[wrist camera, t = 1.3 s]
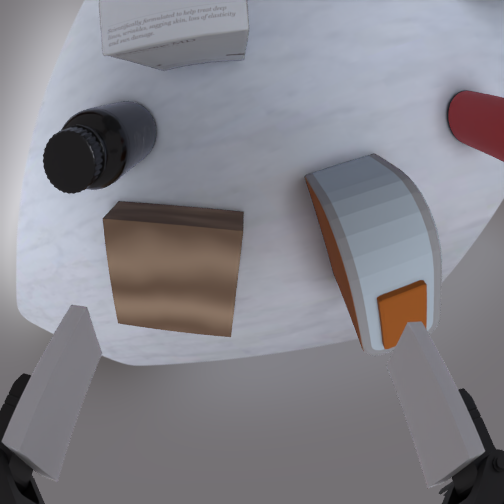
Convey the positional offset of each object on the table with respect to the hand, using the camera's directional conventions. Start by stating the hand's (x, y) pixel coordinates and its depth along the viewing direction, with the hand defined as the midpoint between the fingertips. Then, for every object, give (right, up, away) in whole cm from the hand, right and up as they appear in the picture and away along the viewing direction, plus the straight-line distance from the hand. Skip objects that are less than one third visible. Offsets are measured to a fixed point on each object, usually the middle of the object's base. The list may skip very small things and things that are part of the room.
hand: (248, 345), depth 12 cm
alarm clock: (+12, +7, +23) cm, 27 cm away
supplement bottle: (-13, +16, +17) cm, 26 cm away
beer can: (+25, +19, +16) cm, 35 cm away
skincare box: (-5, +24, +12) cm, 27 cm away
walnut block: (-9, +3, +25) cm, 26 cm away
